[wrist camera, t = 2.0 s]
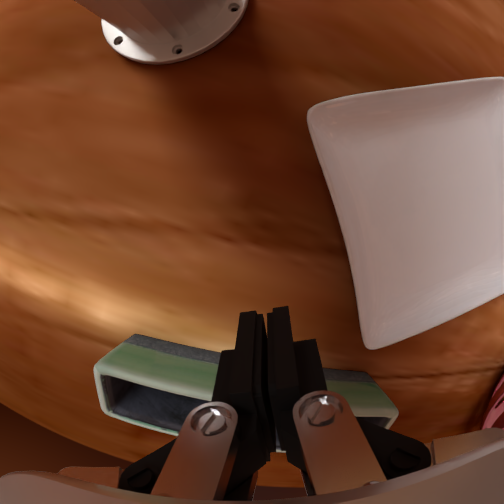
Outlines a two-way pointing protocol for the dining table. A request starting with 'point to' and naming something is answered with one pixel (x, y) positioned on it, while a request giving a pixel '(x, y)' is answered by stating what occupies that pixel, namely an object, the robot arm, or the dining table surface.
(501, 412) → the spiral basket
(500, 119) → the salad plate
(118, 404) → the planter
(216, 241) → the dining table surface
